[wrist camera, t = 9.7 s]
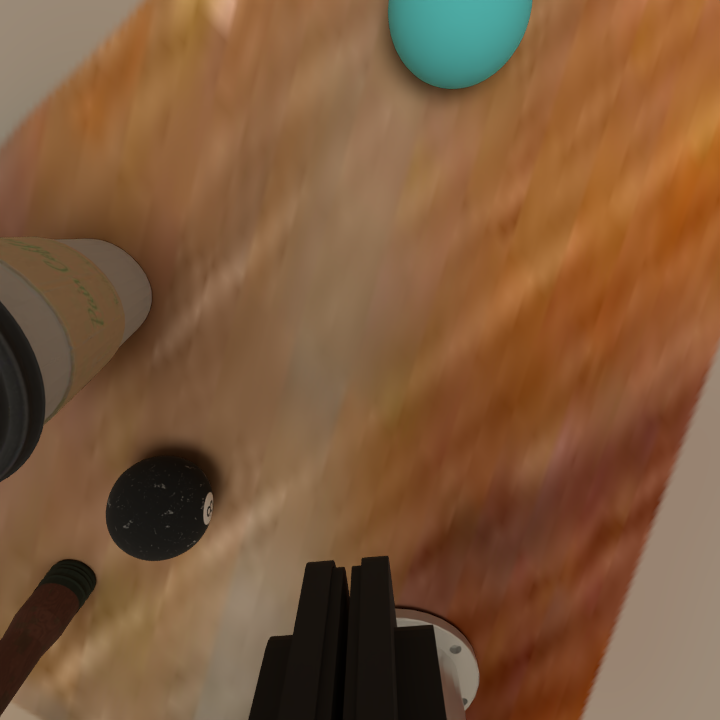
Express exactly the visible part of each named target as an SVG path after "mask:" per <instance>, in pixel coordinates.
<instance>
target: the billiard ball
mask: <svg viewBox="0 0 720 720" xmlns="http://www.w3.org/2000/svg"><path fill="white" fill-rule="evenodd" d="M212 511H213V493H212V488H211V485H210V483H209V480H208V478H207V477H206V475H205V474H204V472H203V471H202V470H201V469H200V468H199V467H198V466H196V465H195V464H194V463H192V462H190V461H188V460H186V459H183V458H180V457H175V456H157V457H152V458H148V459H145V460H143V461H140V462H138V463H136V464H135V465H133V466H131V467H130V468H129V469H127V470H126V471H125V472H124V473H123V474H122V475H121V476H120V477H119V478H118V480H117V481H116V483H115V484H114V486H113V488H112V490H111V492H110V495H109V498H108V501H107V507H106V523H107V527H108V531H109V533H110V535H111V537H112V539H113V541H114V542H115V543H116V544H117V546H118V547H119V548H121V549H122V550H123V551H124V552H126V553H127V554H129V555H131V556H133V557H135V558H139V559H142V560H148V561H160V560H166V559H170V558H173V557H176V556H178V555H180V554H182V553H184V552H186V551H187V550H189V549H190V548H192V547H193V546H194V545H195V544H196V543H197V542H198V541H199V540H200V538H201V537H202V536H203V534H204V533H205V531H206V529H207V527H208V525H209V522H210V519H211V516H212Z"/></svg>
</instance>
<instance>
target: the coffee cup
mask: <svg viewBox="0 0 720 720" xmlns="http://www.w3.org/2000/svg"><path fill="white" fill-rule="evenodd" d="M151 303H152V291H151V287H150V283H149V281H148V279H147V277H146V274H145V273H144V271H143V270H142V268H141V267H140V266H139V264H138V263H137V262H136V261H135V260H134V259H133V258H132V257H131V256H130V255H129V254H127V253H126V252H125V251H124V250H122V249H120V248H119V247H117V246H115V245H113V244H111V243H108V242H106V241H103V240H97V239H57V240H53V239H48V238H41V237H0V482H1V481H3V480H4V479H6V478H8V477H9V476H10V475H12V474H13V473H14V472H16V471H17V470H18V469H19V468H20V467H21V466H22V465H23V464H24V463H25V462H26V460H27V459H28V458H29V457H30V455H31V454H32V452H33V450H34V449H35V447H36V445H37V443H38V441H39V438H40V435H41V432H42V429H43V425H45V424H46V423H47V422H48V421H49V420H50V419H51V418H52V417H54V416H55V415H56V414H57V413H58V412H59V411H60V410H61V409H62V408H63V407H64V406H65V405H66V404H67V403H68V402H69V401H70V400H71V399H72V398H73V397H74V396H75V395H76V394H77V393H78V392H79V391H80V390H81V389H82V388H83V387H84V386H85V385H86V384H87V383H88V382H89V381H90V380H91V379H92V378H93V377H94V376H95V375H96V374H97V373H98V372H99V371H100V370H101V369H102V368H103V367H104V366H105V365H106V364H107V363H108V362H109V361H110V360H111V358H112V357H113V356H114V354H115V353H116V352H117V350H118V348H119V347H120V346H121V345H122V344H123V343H124V342H125V341H126V340H127V339H128V338H129V337H130V336H131V335H132V334H133V333H134V332H135V331H136V330H137V329H138V328H139V327H140V326H141V324H142V323H143V322H144V320H145V319H146V317H147V315H148V313H149V311H150V307H151Z"/></svg>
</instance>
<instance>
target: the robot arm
mask: <svg viewBox="0 0 720 720" xmlns="http://www.w3.org/2000/svg"><path fill="white" fill-rule="evenodd" d="M478 686H479V670H478V665H477V660H476V656H475V654H474V651H473V648H472V646H471V645H470V643H469V642H468V640H467V639H466V638H465V636H464V635H463V634H462V633H461V632H459V631H458V630H457V629H456V628H455V627H454V626H452V625H451V624H449V623H447V622H446V621H444V620H443V619H440V618H438V617H435V616H433V615H430V614H428V613H423V612H419V611H415V610H408V609H395V604H394V596H393V588H392V580H391V572H390V564H389V557H388V556H379V557H367V558H362V562H361V566H352V573H351V589H350V596H349V590H348V583H347V577H346V571H345V567H338V568H336V565H335V562H334V561H333V560H331V561H319V562H308V563H307V564H306V568H305V573H304V579H303V584H302V589H301V595H300V600H299V605H298V611H297V616H296V621H295V627H294V632H293V635H286V636H273V637H270V639H269V640H268V643H267V646H266V649H265V653H264V658H263V662H262V666H261V670H260V674H259V678H258V682H257V686H256V690H255V695H254V699H253V703H252V707H251V711H250V715H249V719H248V720H466V716H465V710H466V709H467V708H468V707H469V706H470V704H471V703H472V701H473V699H474V697H475V696H476V692H477V689H478Z"/></svg>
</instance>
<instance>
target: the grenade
mask: <svg viewBox="0 0 720 720" xmlns="http://www.w3.org/2000/svg"><path fill="white" fill-rule="evenodd" d="M95 584H96V579H95V576H94V573H93V572H92V570H91V569H90V568H89V567H87V566H86V565H84V564H83V563H81V562H78V561H73V560H64V561H61V562H58V563H57V564H55V565H54V566H53V567H52V568H51V569H50V570H49V572H48V573H47V574H46V575H45V577H44V579H42V580H41V582H40V583H39V585H38V587H37V588H36V589H35V590H34V592H33V594H32V595H31V596H30V597H29V599H28V600H27V601H26V602H25V604H24V605H23V606H22V607H21V608H20V610H19V611H18V612H17V614H16V615H15V616H14V618H13V620H12V622H11V624H10V625H9V627H8V629H7V631H6V632H5V634H4V636H3V638H2V639H1V640H0V716H1V714H2V713H3V712H4V710H5V709H6V707H7V706H8V704H9V703H10V701H11V700H12V698H13V697H14V696H15V694H16V693H17V691H18V690H19V688H20V687H21V685H22V684H23V682H24V681H25V680H26V678H27V677H28V675H29V674H30V672H31V671H32V669H33V668H34V666H35V665H36V664H37V662H38V661H39V659H40V658H41V656H42V655H43V654H44V653H45V652H46V651H47V650H48V649H49V648H50V647H51V646H52V645H53V644H54V643H55V642H56V640H57V639H58V638H59V637H60V636H61V635H62V633H63V632H64V630H65V629H66V627H67V626H68V624H69V623H70V621H71V620H72V618H73V617H74V615H75V614H76V613H77V612H78V611H79V609H80V608H81V607H82V606H83V604H84V602H85V601H86V600H87V598H88V597H89V595H90V594H91V592H92V591H93V590H94V587H95Z"/></svg>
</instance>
